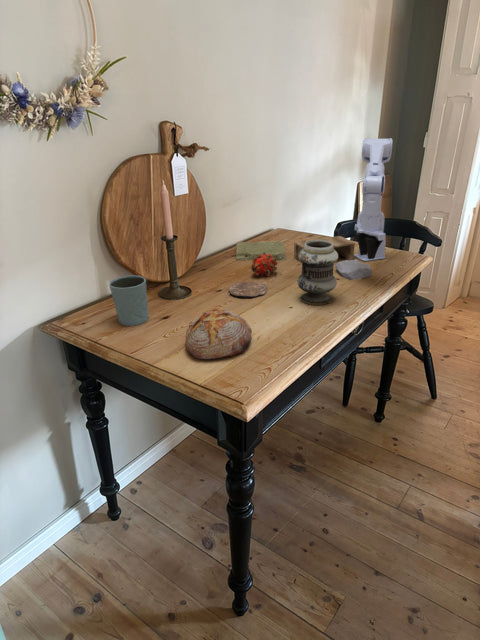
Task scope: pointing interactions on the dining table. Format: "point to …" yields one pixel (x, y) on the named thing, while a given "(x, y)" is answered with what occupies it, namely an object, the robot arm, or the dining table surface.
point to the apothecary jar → (317, 271)
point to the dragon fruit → (264, 264)
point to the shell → (247, 290)
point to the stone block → (353, 269)
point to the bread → (217, 335)
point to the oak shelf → (339, 245)
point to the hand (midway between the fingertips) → (367, 256)
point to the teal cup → (130, 299)
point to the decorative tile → (259, 250)
